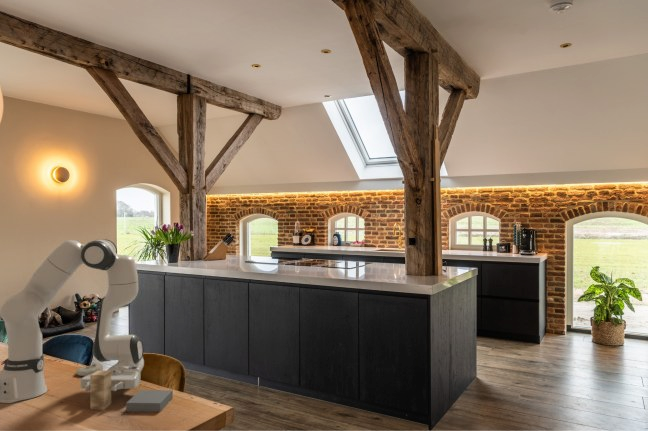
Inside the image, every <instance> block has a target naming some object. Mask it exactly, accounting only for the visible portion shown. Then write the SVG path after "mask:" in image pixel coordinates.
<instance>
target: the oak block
mask: <svg viewBox="0 0 648 431" xmlns="http://www.w3.org/2000/svg"><path fill="white" fill-rule="evenodd" d="M89 394H90V396H89V398H90V399H89V400H90V402H89V404H90V406H89V408H90V410H106V409H107V408H109V406H110V405H112V391H111V371H107V370H102V371H96V372H95V373H93V374H91V375H90V391H89Z"/></svg>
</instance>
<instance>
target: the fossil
mask: <svg viewBox="0 0 648 431" xmlns="http://www.w3.org/2000/svg"><path fill="white" fill-rule="evenodd" d="M103 369H104V366H103V365H102V364H101V363H99V362H94V363H91V365H88V366H81V367H79V368H78V369H77V370H76V372H75V373H76V375H77V376H79V377H85V376H87V375H89V374H92V373H95V372H96V371H104V370H103Z"/></svg>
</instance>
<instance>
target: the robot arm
mask: <svg viewBox="0 0 648 431" xmlns="http://www.w3.org/2000/svg"><path fill="white" fill-rule="evenodd" d="M83 264H84V265H85V266H87V267H89V268H91V269H96V270H100V271H106V273H107V278H108V279H107V280H108V287H107V288H108V289H107V292H106V295H105V296H103V297H102V298H101V300H100V304H99V307H98V308H99V309H98V316H97V324H96V330H95V336H94V342H93V345H92V349H91V350H92V351H91V352H92V355H93V357H94V358H95V359H96V360H97V361H98V362H100V363H103V362H110V361H117V362H116V363H115V364H113V365H112V366H111V367H108V369H107V370H106V371H111V392H116V391H118V390H133V389H136V388H137V387H138V386H139V385H140V384H141V374H142V373H141V372H142V371H143V368H144V366H145V360H144V344H143V341H142V340H141V338H140V337H139V336H138V335H136V334H123V335H111V325H112V324H111V323H112V316H113V314H114V312H115V311H116V310H117V309H120V308H122V307H125V306H127V305H128V304H130V303H132V302H133V301H134V300H135V299H136V298H137V296H138V294H139V276H138V270H137V264H136V261H135V259H134V258H133V257H132V256H130V255H127V254H118V249H117V246H116V244H115V243H114V242H113V241H111V240H109V239H107V238H99V239H94V240H92V241H89V242H87V243H86V244H83V243H81V242H80V241H78V240H74V239H68V240H64V242H62V243H61V244H60V245H59V246H57V247H56V248H55V249H54V250H53V251H52V252H51V253H50V254H49V255H48V256H47V258H46V259H45V260H44V261H43V262H42V263H41V264H40V266H39V267H38V268H37V269H36V270H35V271H34V272H33V274H32V275H31V278H30V279H29V281H28V282H27V284H26V285H25V286H24V287H23V289H22V290H21V291H20V292H19V293H16V294H15V295H12V296H11V297H9V298H7V299H6V300H5V302H4V303H3V304H2V306H1V308H0V317H1V318H2V320H3V321H4V327H5V330H6V334H7V335H6V336H7V347H8V348H7V357H8V358H6V359H4V360H3V361H1V362H0V366H3V367H2V369H1V370H0V403H1V404H13V403H16V402H20V401H24V400H29V399H34V398H36V397H39V396H42V395H44V394H45V393H46V392H47V391H48V387H47V385H46V380H45V376H44V375H45V374H44V366H45V365H44V360H45V359H44V357H45V356H44V354H43V333H42V331H41V329H40V323H39V316H40V315H41V314H42V313H43V312H44V311H45V310H46V309H47V307H48V306H49V305H50V304H51V302H52V301H53V300H54V299H55V297H56V296H57V293H59V292H60V291H61V289H62V287H63V286H64V285H65V284H66V282H68V280H70V278H71V277H72V276H73V274H74V273H76V271H77V270H78V268H80V267H81V266H82V265H83ZM92 374H93V373H92ZM90 375H91V374H89V375H87V376H82V378H80V388H81V389H84V391H86V392H90Z"/></svg>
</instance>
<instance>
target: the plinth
mask: <svg viewBox="0 0 648 431" xmlns="http://www.w3.org/2000/svg"><path fill="white" fill-rule="evenodd" d="M173 394H174V392H173V390H171V389H157V390H156V389H140V390H139V391H138V392H137V393H136V394H134V395H133V396H132V397H131V398H130V399H129V400H128V401H127V402H125V403H126V404H125V406H126V407H125V408H126V409H125V410H126V412H136V413H137V412H138V413H139V412H140V413H141V412H146V413H147V412H154V413H156V412H157V413H161V412H162V411H163V409H165V407H167V405H168V404H169V403H170V402H171V401H172V400H173V399H172V398H173ZM171 399H172V400H171ZM170 400H171V401H170ZM169 401H170V402H169ZM168 402H169V403H168Z"/></svg>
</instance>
